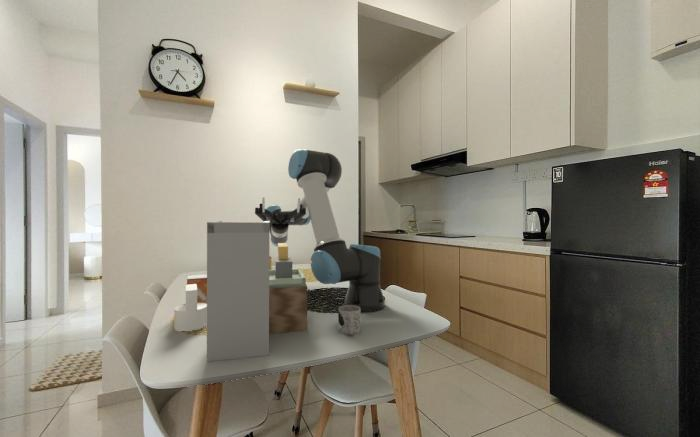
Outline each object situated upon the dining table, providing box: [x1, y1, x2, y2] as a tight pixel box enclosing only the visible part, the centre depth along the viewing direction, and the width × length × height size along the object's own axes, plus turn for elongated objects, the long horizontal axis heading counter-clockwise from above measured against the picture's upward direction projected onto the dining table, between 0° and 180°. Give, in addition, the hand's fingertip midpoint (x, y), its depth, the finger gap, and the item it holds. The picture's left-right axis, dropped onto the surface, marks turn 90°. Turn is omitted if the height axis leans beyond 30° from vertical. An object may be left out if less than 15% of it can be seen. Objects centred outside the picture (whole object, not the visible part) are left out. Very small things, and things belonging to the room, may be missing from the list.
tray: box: [269, 268, 307, 288], centre depth 98 cm, size 12×16×2 cm
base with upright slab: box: [173, 284, 207, 333], centre depth 94 cm, size 9×9×12 cm
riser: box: [269, 284, 308, 335], centre depth 98 cm, size 13×17×13 cm
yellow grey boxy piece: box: [274, 242, 293, 279], centre depth 103 cm, size 5×19×10 cm, turn 14°
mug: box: [337, 304, 362, 335], centre depth 90 cm, size 10×7×7 cm
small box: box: [186, 274, 207, 304], centre depth 105 cm, size 8×6×13 cm
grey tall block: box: [206, 220, 270, 363], centre depth 79 cm, size 14×12×32 cm
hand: (281, 200), depth 119 cm, fingers open, 13 cm apart
